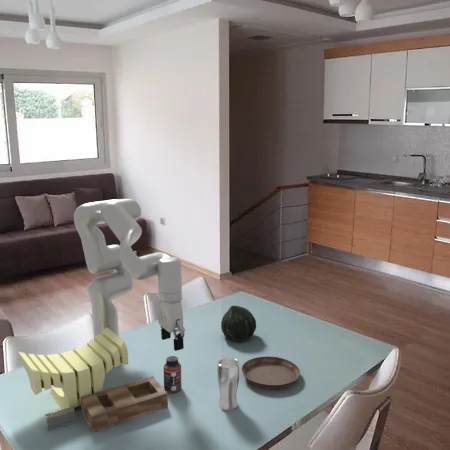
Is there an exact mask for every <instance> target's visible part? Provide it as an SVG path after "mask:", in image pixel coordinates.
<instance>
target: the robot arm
mask: <svg viewBox="0 0 450 450" xmlns="http://www.w3.org/2000/svg"><path fill="white" fill-rule="evenodd" d="M141 208H142V207H141V206H140V203H139V202H137V201H136V200H135V199H133V198H118V199H117V198H115V199H107V200H100V201H93V202H87V203H83V204H81V205H79V206H77V208H76V209H75V210H74V213H73V222H74V226H75V229H76V230H77V234H78V235H79V237H80V239H81V245H82V250H83V253H84V259H85V263H86V266H87V270H88V271H89V272H90V274H94V275H97V274H102V273H106V272H110V271H113V273H110V274H106V275H103V276H99V277H96V278H93V279H92V280H91V281H90V282H89V283H88V285H87V292H88V293H87V294H88V297H89V300H90V306H91V313H92V314H91V315H92V330H93V331H92V332H93V333H92V334H93V340H94V341H95V337H96V336H97V335H98V334H101V335H102V331H103V330H104V329H106V328H108V329H110V330H111V331H112V332H113V333H115V334H116V335H117V336H119V337H120V331H119V330H120V328H119V327H120V326H119V314H118V312H119V311H118V309H117V306H116V304H115V305H114V303H113V300H115V299H116V300H117V299H118V298H122V297H124V296H125V297H126V296H127V295H129V294H130V293H132V291H133V288H134V282H133V280H134V279H135V280H137V281H144V280H147V279H151V278H154V277H157V280H158V312H157V315H158V316H157V317H158V324H159V325H160V332H161V333H160V335H161V340H162V341H163V340H169V339H171V337H172V336H171V335H172V334H173V337H174V338H173V351H175V352H177V351H181V350H183V349H185V348H184V347H185V346H184V338H185V331H186V328H185V327H184V315H183V313H184V312H183V306H182V305H183V304H182V300H183V281H182V280H183V279H182V261H181V260H180V258H178V257H176V256H170V255H169V254H166V253H165V252H162V251H159V252H158V251H157V252H154V253H149V254H145V255H142V256H138V255H137V254H136V253H135V252H134V250H133V249H132V246H133V245H134V244H135V243H137V241H138V240H139V239H140V237H141V236H142V233H143V230H142V227H141V226H140V225H139V223H138V222H137V221H138V220H139V219H140V218H141V216H142V209H141ZM102 224H106V226H108V228H109V229H110V230H111V231H112V233H113V234H114V236H115V237H116V238H117V239H118V240H119V242H120V243H119V244H111V245H107V242H106V237H105V235H104V233H103V231H102V230H101V229H100V228H99V227H97V226H99V225H102ZM95 342H96V341H95ZM96 343H97V342H96ZM97 344H98V343H97ZM98 345H99V344H98Z"/></svg>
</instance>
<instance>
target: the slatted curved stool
mask: <svg viewBox="0 0 450 450" xmlns="http://www.w3.org/2000/svg"><path fill="white" fill-rule="evenodd" d="M95 341H96V342H97V343H98V344H99V345H98V344H97V343H96V342H95ZM95 341H94V338H92V339H90V340H89V341H86V342H87V343H86V344H85V343H83V344H82V345H80V346H77V347H76V348H73V350H72V349H70V350H67V351H63V352H60V354H59V353H51V354H45V355H44V354H36V355H35V354H33V353H27V354H26V352H22V351H18V352H17V353H18V354H17V355H18V361H19V362H20V363H21V365H22V367H23V368H24V370H25V372H26V375H27V377H28V380H29V383H30V389H31V391H32V393H34V395H35V396H37V395H38V394H41V393H42V392H43V390H44V391H47V390H50V389H51V390H50V392H49V395H50V396H51V397H52V399H53V400H54V402H55V403H56V404H57V406H58V407H59V408H60V410H62V409H66V408H69V407H72V406H73V408H74V409H77V407H80V406H81V397H84V396H87V395H91V394H94V393H98V392H101V391H103V387H104V383H105V382H104V381H105V378H106V375H105V374H106V373H107V374H108V373H109V372H110V371H111V370H112V369H113V367H114V368H116V367H120V366H121V364H122V366H124V365H129V353H128V352H129V351H128V347H127V345H126V341H124V339H122V338H121V337H120V335H119V336H117V335H116V334H115V333H113V332H112V331H111V330H110V329H108V328H106V329H104V330H103V331H102V335H101V334H98V335H97V336H96V337H95Z"/></svg>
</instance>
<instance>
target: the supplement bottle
mask: <svg viewBox="0 0 450 450" xmlns="http://www.w3.org/2000/svg"><path fill="white" fill-rule="evenodd" d="M165 361H166V362H165V363H164V365H163V389H164V390H165V391H166V392H167V393H169V394H176V393H179V392H180V391H181V390H182V364H181V363H180V362H179V357H178V356H176V355H170V356H167V357H166V359H165Z"/></svg>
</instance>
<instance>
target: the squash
mask: <svg viewBox="0 0 450 450" xmlns="http://www.w3.org/2000/svg"><path fill="white" fill-rule="evenodd" d="M256 328H257V320H256V318H255V316H254V315H253V314H252V311H250V310H249V309H248V308H245V307H243V306H239V305H231V306H230V307H229V308H228V310H227V311H226V312H225V313H224V315H223V317H222V319H221V321H220V329H221V332H222V334H223V336H224V337H225V338H226V339H229V340H232V341H233V342H239V341H240V342H241V341H242V342H245V341H247V339H249V338H252V337H253V336H254V334H255V331H256Z"/></svg>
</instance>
